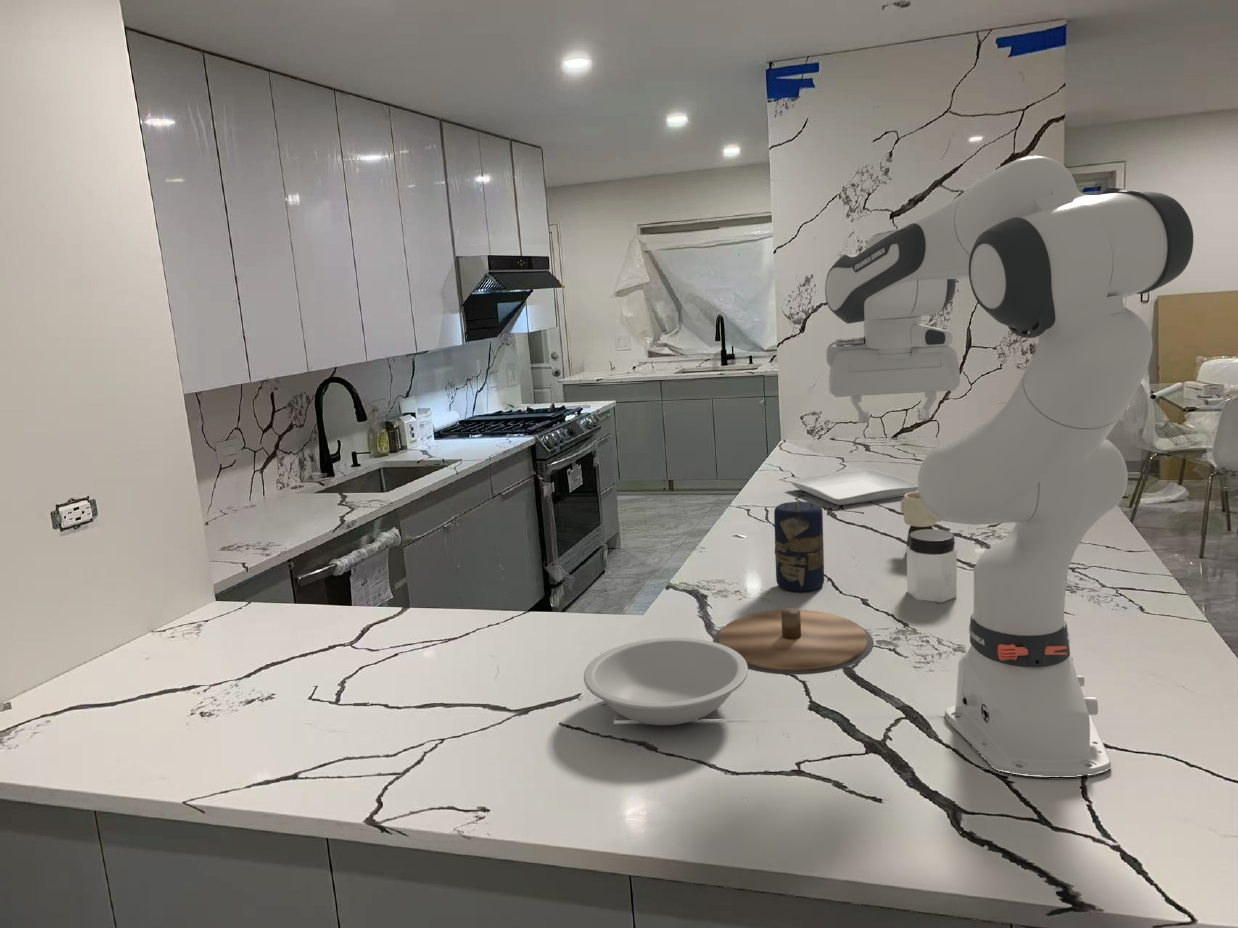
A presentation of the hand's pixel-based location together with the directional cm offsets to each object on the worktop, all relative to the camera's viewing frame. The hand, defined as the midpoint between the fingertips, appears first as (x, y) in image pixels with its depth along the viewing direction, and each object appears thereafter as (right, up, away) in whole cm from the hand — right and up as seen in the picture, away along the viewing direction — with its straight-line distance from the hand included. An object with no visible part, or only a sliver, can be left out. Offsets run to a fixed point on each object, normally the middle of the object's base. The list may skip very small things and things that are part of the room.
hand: (893, 421), depth 144 cm
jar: (+15, -32, +25) cm, 43 cm away
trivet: (-15, -38, +8) cm, 41 cm away
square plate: (+22, -16, +108) cm, 111 cm away
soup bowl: (-37, -44, -13) cm, 59 cm away
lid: (-15, -37, +7) cm, 41 cm away
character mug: (+22, -27, +50) cm, 61 cm away
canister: (-8, -32, +34) cm, 48 cm away
